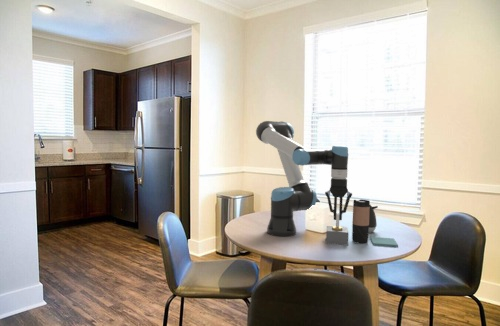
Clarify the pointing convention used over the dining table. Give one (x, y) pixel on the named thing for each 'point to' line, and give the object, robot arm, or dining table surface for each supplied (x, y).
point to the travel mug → (360, 221)
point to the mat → (383, 241)
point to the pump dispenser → (372, 219)
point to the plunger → (337, 228)
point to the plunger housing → (337, 236)
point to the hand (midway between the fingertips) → (337, 226)
